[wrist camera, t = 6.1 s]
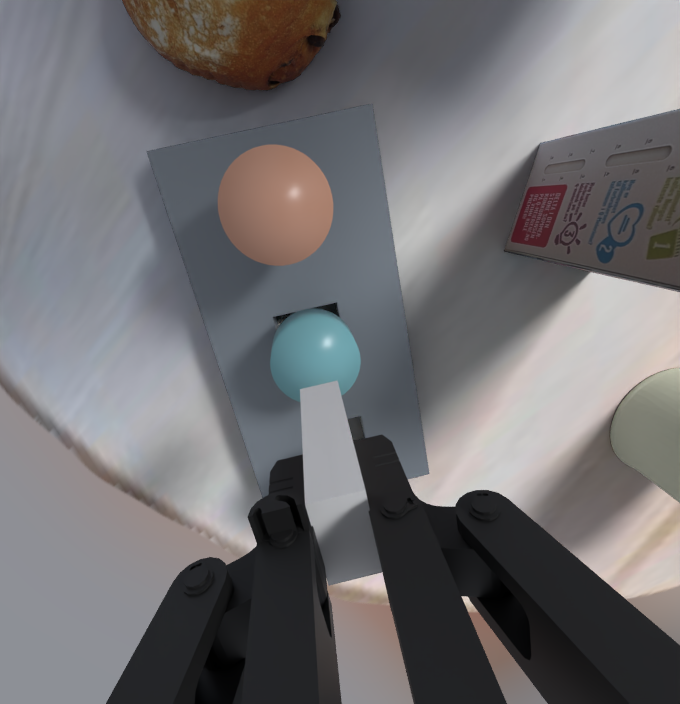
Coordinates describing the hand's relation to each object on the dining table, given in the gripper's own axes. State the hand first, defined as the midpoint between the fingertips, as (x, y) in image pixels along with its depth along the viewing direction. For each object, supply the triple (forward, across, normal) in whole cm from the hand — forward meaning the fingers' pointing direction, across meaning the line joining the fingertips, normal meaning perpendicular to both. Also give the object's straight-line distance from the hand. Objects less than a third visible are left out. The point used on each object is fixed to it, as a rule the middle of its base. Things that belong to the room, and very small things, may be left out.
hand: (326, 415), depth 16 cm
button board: (+12, 0, 0) cm, 12 cm away
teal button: (+10, 0, 0) cm, 10 cm away
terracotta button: (+9, 0, +8) cm, 12 cm away
